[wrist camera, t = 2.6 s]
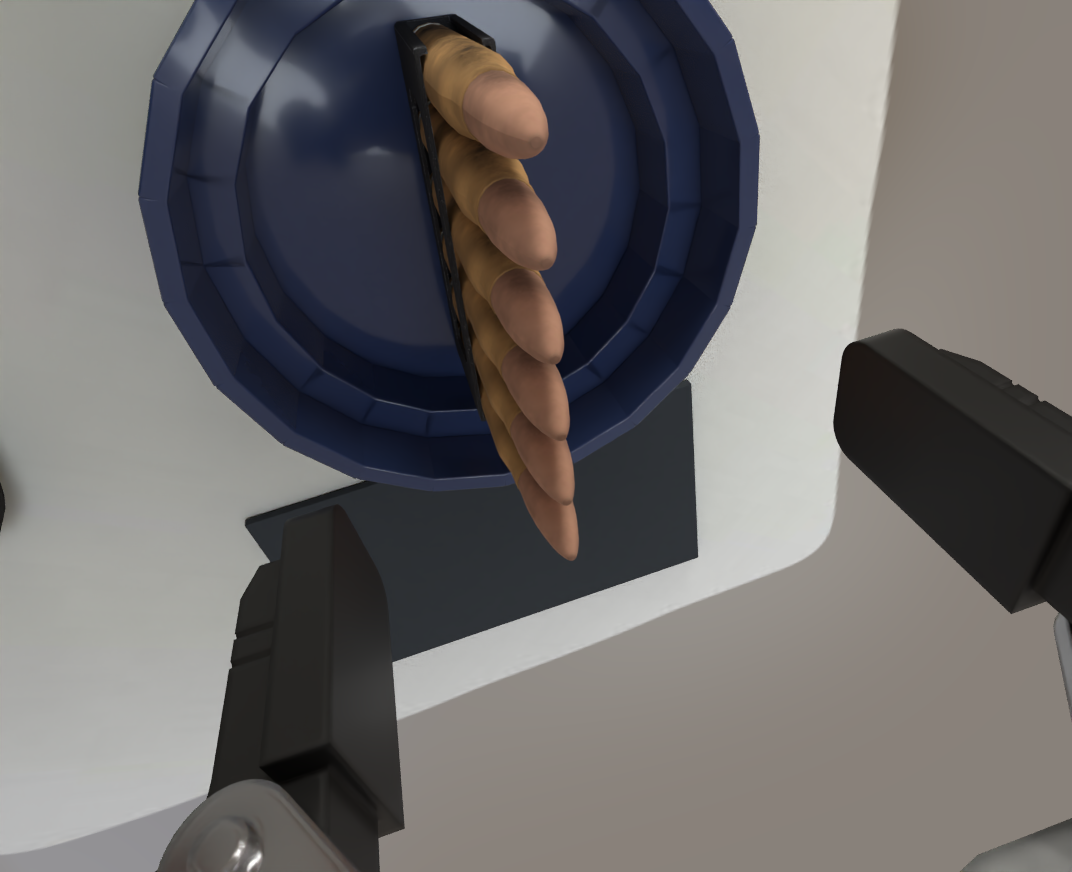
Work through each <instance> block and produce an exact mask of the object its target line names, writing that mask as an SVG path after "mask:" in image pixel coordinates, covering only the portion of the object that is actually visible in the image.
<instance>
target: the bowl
mask: <svg viewBox="0 0 1072 872" xmlns="http://www.w3.org/2000/svg"><path fill="white" fill-rule="evenodd" d="M451 14H456V15H458V16H459V17H461V18H463V19H464V20H466V21H467V22H469V23H470V24H472V25H474V26H475V27H477V28H478V29H480V30H481V31H483V32H485V33H486V34H488V35H489V36H491V37H492V38H494V40H495V44H496V53H498V54H500V55H501V56H502V57H503V58H504V59H505V60H506V61H507V62H508V63H509V64H510V66H511V67H512V68H513V70H514V73H515V75H516V76H517V78H518V79H519V80H521V81H522V82H523V83H525V85H526V86H527V87H528V88H529V89H530V90H531V91H532V92H533V93H534V95H535V96H536V97H537V98H538V100H539V101H540V103H541V105H542V108H543V110H544V113H545V115H546V118H547V123H548V132H549V135H548V140H547V144H546V145H545V147H544V149H543V150H542V151H541V152H540V153H539V154H538V155H536V156H534V157H531V158H528V159H518V160H519V161H520V162H521V164H522V166H523V168H524V170H525V172H526V174H527V176H528V180H529V184H530V185H531V186H532V188H533V190H534V192H535V194H536V195H537V196H538V198H539V199H540V200H541V201H542V203H543V205H544V206H545V208H546V210H547V213H548V215H549V217H550V219H551V221H552V223H553V226H554V229H555V233H556V242H557V256H556V259H555V262H554V264H553V265H552V267H550V268H549V269H547V270H543V271H539V273H540V275H541V277H542V279H543V281H544V283H545V285H546V287H547V289H548V290H549V292H550V294H551V296H552V298H553V300H554V302H555V304H556V307H557V309H558V312H559V314H560V318H561V321H562V326H563V336H564V351H563V355H562V358H561V360H560V362H559V363H557V364H555V365H556V367H557V369H558V371H559V373H560V375H561V378H562V381H563V384H564V387H565V390H566V394H567V398H568V405H569V415H570V427H569V432H568V435H567V438H566V441H567V444H568V447H569V450H570V453H571V458H572V463H577V462H578V461H580V460H582V459H583V458H585V457H587V456H588V455H590V454H591V453H593V452H595V451H596V450H598V449H600V448H601V447H603V446H605V445H606V444H608V443H610V442H611V441H613V440H615V439H616V438H618V437H619V436H621V435H623V434H624V433H626V432H628V431H629V430H631V429H633V428H634V427H635V425H638V424H639V423H640V422H641V421H642V420H643V419H644V418H645V417H646V416H647V415H648V414H649V413H650V412H651V411H652V410H653V409H654V408H655V407H656V406H657V405H658V404H659V403H660V402H661V401H662V400H663V399H664V398H665V397H666V396H668V395H669V394H670V393H671V392H672V391H673V390H674V389H675V388H676V387H677V386H678V385H679V384H680V383H681V382H682V381H683V380H684V379H685V378H686V377H687V376H688V374H689V373H690V372H691V371H692V369H693V368H694V366H695V364H696V363H697V361H698V360H699V358H700V356H701V355H702V353H703V352H704V350H705V348H706V347H707V345H708V343H709V342H710V340H711V339H712V337H713V335H714V334H715V332H716V331H717V329H718V327H719V326H720V324H721V322H722V321H723V319H724V318H725V316H726V314H727V313H728V311H729V309H730V306H731V305H732V302H733V299H734V296H735V293H736V290H737V286H738V283H739V280H740V277H741V274H742V270H743V267H744V264H745V261H746V258H747V254H748V251H749V248H750V245H751V242H752V238H753V235H754V232H755V229H756V225H757V204H758V174H759V145H760V135H759V130H758V127H757V123H756V119H755V116H754V112H753V108H752V105H751V101H750V97H749V93H748V90H747V86H746V82H745V79H744V75H743V71H742V67H741V64H740V60H739V56H738V53H737V49H736V45H735V41H734V39H733V38H732V34H731V33H730V31H729V30H728V28H727V27H726V25H725V24H724V22H723V21H722V19H721V18H720V17H719V15H718V14H717V12H716V11H715V9H714V8H713V6H712V5H711V3H710V2H709V0H195V1H194V2H193V4H192V6H191V8H190V10H189V11H188V13H187V15H186V17H185V19H184V20H183V22H182V24H181V26H180V28H179V29H178V31H177V33H176V35H175V37H174V38H173V40H172V42H171V44H170V46H169V48H168V49H167V51H166V53H165V55H164V57H163V58H162V60H161V62H160V64H159V66H158V67H157V69H156V71H155V73H154V75H153V80H152V83H151V91H150V99H149V108H148V116H147V124H146V132H145V140H144V148H143V156H142V165H141V173H140V181H139V189H138V195H139V199H138V200H139V205H140V209H141V213H142V217H143V222H144V226H145V230H146V234H147V239H148V243H149V247H150V251H151V256H152V260H153V264H154V268H155V273H156V277H157V281H158V285H159V290H160V294H161V298H162V301H163V302H164V306H165V308H166V309H167V311H168V313H169V314H170V316H171V317H172V319H173V321H174V322H175V324H176V325H177V327H178V329H179V330H180V332H181V333H182V335H183V337H184V338H185V340H186V341H187V343H188V345H189V346H190V348H191V349H192V351H193V353H194V354H195V356H196V357H197V359H198V361H199V362H200V364H201V365H202V367H203V369H204V370H205V372H206V373H207V375H208V377H209V378H210V380H211V381H212V383H213V385H214V386H216V387H217V389H218V390H220V391H221V392H222V393H223V394H224V395H225V396H226V397H228V398H229V399H230V400H231V401H232V402H233V403H235V404H236V405H237V406H238V407H239V408H240V409H242V410H243V411H244V412H245V413H246V414H247V415H249V416H250V417H251V418H252V419H253V420H254V421H255V422H257V423H258V424H259V425H260V426H261V427H262V428H264V429H265V430H266V431H267V432H268V433H269V434H271V435H272V436H273V437H274V438H275V439H276V440H277V441H279V442H280V443H281V444H283V445H284V446H286V447H288V448H290V449H292V450H294V451H297V452H299V453H301V454H303V455H305V456H307V457H310V458H312V459H314V460H316V461H318V462H320V463H323V464H325V465H327V466H329V467H331V468H333V469H336V470H338V471H340V472H342V473H344V474H346V475H349V476H351V477H353V478H357V479H360V480H366V481H371V482H377V483H383V484H389V485H395V486H400V487H406V488H412V489H418V490H423V491H429V492H431V491H433V492H438V491H451V490H464V489H478V488H491V487H503V486H508V485H511V484H514V483H515V481H514V478H513V476H512V474H511V471H510V470H509V469H508V467H507V466H506V465H505V463H504V462H503V460H502V459H501V457H500V456H499V453H498V451H497V448H496V445H495V443H494V440H493V437H492V434H491V431H490V428H489V426H488V423H487V421H481V419H480V417H479V414H478V411H477V408H476V405H475V402H474V399H473V396H472V393H471V390H470V387H469V384H468V381H467V378H466V375H465V372H464V369H463V366H462V363H461V360H460V357H459V354H458V351H457V348H456V342H455V337H454V332H453V327H452V322H451V317H450V312H449V307H448V301H447V296H446V291H445V286H444V281H443V276H442V271H441V266H440V260H439V255H438V250H437V245H436V240H435V235H434V230H433V225H432V219H431V214H430V209H429V204H428V199H427V194H426V189H425V184H424V179H423V173H422V168H421V163H420V158H419V153H418V148H417V143H416V138H415V132H414V127H413V122H412V117H411V112H410V107H409V102H408V97H407V91H406V86H405V81H404V76H403V71H402V66H401V61H400V56H399V50H398V45H397V40H396V35H395V30H394V25H395V23H396V22H397V21H405V20H413V19H420V18H428V17H435V16H443V15H451Z"/></svg>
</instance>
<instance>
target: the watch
mask: <svg viewBox="0 0 1072 872" xmlns="http://www.w3.org/2000/svg"><path fill="white" fill-rule="evenodd" d="M4 512H5V497H4V492H3V489H2V486H1V483H0V531H1V526H2V522H3V517H4Z"/></svg>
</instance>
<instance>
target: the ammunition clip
mask: <svg viewBox="0 0 1072 872" xmlns="http://www.w3.org/2000/svg"><path fill="white" fill-rule="evenodd" d="M394 30H395V35H396V40H397V45H398V50H399V56H400V61H401V66H402V71H403V76H404V81H405V86H406V91H407V97H408V102H409V107H410V112H411V117H412V122H413V127H414V132H415V138H416V143H417V148H418V153H419V158H420V163H421V168H422V173H423V179H424V184H425V189H426V194H427V199H428V204H429V209H430V214H431V219H432V225H433V230H434V235H435V240H436V245H437V250H438V255H439V260H440V266H441V271H442V276H443V281H444V286H445V291H446V296H447V301H448V307H449V312H450V317H451V322H452V327H453V332H454V337H455V342H456V348H457V351H458V354H459V357H460V360H461V363H462V366H463V369H464V372H465V375H466V378H467V381H468V384H469V387H470V390H471V393H472V396H473V399H474V402H475V405H476V408H477V411H478V414H479V417H480V419H481V421H487V423H488V426H489V428H490V431H491V434H492V437H493V440H494V443H495V445H496V448H497V451H498V453H499V456H500V457H501V459H502V460H503V462H504V463H505V465H506V466H507V467H508V469H509V470H510V471H511V474H512V476H513V478H514V481H515V483H516V485H517V488H518V489H519V490H520V492H521V495H522V497H523V500H524V502H525V505H526V507H527V509H528V511H529V513H530V515H531V517H532V519H533V520H534V522H535V524H536V526H537V527H538V529H539V530H540V532H541V533H542V534H543V536H544V537H545V539H546V540H547V541H548V542H549V543H550V545H551V546H552V547H553V548H554V549H555V550H556V551H557V552H558V553H559V554H560V555H561V556H563V557H564V558H565V559H567V560H570V561H573V560H575V558H576V557H577V553H578V547H579V535H578V525H577V517H576V512H575V507H574V504H573V497H574V490H575V481H574V471H573V463H572V458H571V453H570V450H569V447H568V444H567V441H566V438H567V435H568V432H569V427H570V415H569V405H568V398H567V394H566V390H565V387H564V384H563V381H562V378H561V375H560V373H559V371H558V369H557V367H556V365H555V364H557V363H559V362H560V360H561V358H562V355H563V351H564V336H563V326H562V321H561V318H560V314H559V312H558V309H557V307H556V304H555V302H554V300H553V298H552V296H551V294H550V292H549V290H548V289H547V287H546V285H545V283H544V281H543V279H542V277H541V275H540V273H539V271H543V270H547V269H549V268H550V267H552V265H553V264H554V262H555V259H556V256H557V242H556V233H555V229H554V226H553V223H552V221H551V219H550V217H549V215H548V213H547V210H546V208H545V206H544V205H543V203H542V201H541V200H540V199H539V198H538V196H537V195H536V194H535V192H534V190H533V188H532V186H531V185H530V184H529V180H528V176H527V174H526V172H525V170H524V168H523V166H522V164H521V162H520V161H519V160H518V159H528V158H531V157H534V156H536V155H538V154H539V153H540V152H541V151H542V150H543V149H544V147H545V145H546V144H547V140H548V135H549V132H548V123H547V118H546V115H545V113H544V110H543V108H542V105H541V103H540V101H539V100H538V98H537V97H536V96H535V95H534V93H533V92H532V91H531V90H530V89H529V88H528V87H527V86H526V85H525V83H523V82H522V81H521V80H519V79H518V78H517V76H516V75H515V73H514V70H513V68H512V67H511V66H510V64H509V63H508V62H507V61H506V60H505V59H504V58H503V57H502V56H501V55H500V54H498V53H496V44H495V40H494V38H492V37H491V36H489V35H488V34H486V33H485V32H483V31H481V30H480V29H478V28H477V27H475V26H474V25H472V24H470V23H469V22H467V21H466V20H464V19H463V18H461V17H459V16H458V15H456V14H451V15H443V16H435V17H428V18H420V19H413V20H405V21H397V22H396V23H395V25H394Z"/></svg>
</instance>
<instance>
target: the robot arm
mask: <svg viewBox="0 0 1072 872" xmlns="http://www.w3.org/2000/svg"><path fill="white" fill-rule="evenodd" d="M833 425H834V432H835V436H836V439H837V442H838V444H839V446H840V448H841V449H842V451H843V453H844V454H845V455H846V456H847V457H848V458H849V460H851V461H852V462H853V463H854V464H855V465H856V466H857V467H858V468H859V469H860V470H861V471H862V472H863V473H864V474H865V475H866V476H867V477H868V478H869V479H871V480H872V481H873V482H874V483H875V484H876V485H877V486H878V487H879V488H880V489H881V490H882V491H883V492H884V493H885V494H886V495H887V496H888V497H889V498H890V499H891V500H892V501H893V502H894V503H896V504H897V505H898V506H899V507H900V508H901V509H902V510H903V511H904V512H905V513H906V514H907V515H908V516H909V517H910V518H911V519H912V520H913V521H914V522H915V523H916V524H918V525H919V526H920V527H921V528H922V529H923V530H924V531H925V532H926V533H927V534H928V535H929V536H930V537H931V538H932V539H933V540H934V541H935V542H936V543H937V544H938V545H939V546H941V547H942V548H943V549H944V550H945V551H946V552H947V553H948V554H949V555H950V556H951V557H952V558H953V559H954V560H955V561H956V562H957V563H958V564H959V565H961V567H963V568H964V569H965V570H966V571H967V572H968V573H969V574H970V575H971V576H972V577H973V578H974V579H975V580H976V581H977V582H978V583H979V584H980V585H981V586H982V587H983V588H984V589H986V590H987V591H988V592H989V593H990V594H991V595H992V596H993V597H994V598H995V599H996V600H997V601H998V602H999V603H1000V604H1001V605H1002V606H1004V608H1005V609H1006V610H1008V611H1009V612H1010V613H1011V614H1012V613H1015V612H1018V611H1021V610H1024V609H1026V608H1029V607H1032V606H1035V605H1038V604H1040V603H1043V602H1046V601H1047V602H1048V603H1049V604H1050V605H1051V606H1052V607H1053V608H1054V609H1056V610H1057V611H1058V612H1059V613H1058V615H1057V616H1056V618H1055V621H1054V635H1055V640H1056V645H1057V650H1058V655H1059V660H1060V665H1061V670H1062V675H1063V680H1064V685H1065V690H1066V695H1067V700H1068V705H1069V710H1070V715H1071V720H1072V417H1071V416H1070V415H1068V414H1066V413H1065V412H1063V411H1061V410H1059V409H1058V408H1057V407H1055V406H1053V405H1052V404H1050V403H1048V402H1047V401H1043V402H1040V401H1039V400H1038V396H1037V395H1035V394H1033V393H1031V392H1030V391H1028V390H1027V389H1025V388H1024V387H1022V386H1020V385H1019V384H1018V385H1015V386H1014V385H1013V384H1012V380H1010V379H1009V378H1007V377H1005V376H1004V375H1002V374H1000V373H999V372H997V371H996V370H994V369H992V368H991V367H989V366H987V365H986V364H984V363H982V362H980V361H978V360H974V359H971V358H968V357H965V356H962V355H959V354H955V353H952V352H949V351H946V350H943V349H940V350H938V349H936V348H935V347H933V346H932V345H930V344H928V343H927V342H925V341H924V340H922V339H920V338H919V337H917V336H916V335H914V334H912V333H911V332H909V331H907V330H904V329H893V330H890V331H887V332H884V333H881V334H878V335H875V336H871V337H868V338H865V339H862V340H859V341H856V342H852V343H850V344H849V345H848V346H847V347H846V348H845V350H844V352H843V355H842V361H841V368H840V375H839V383H838V390H837V398H836V405H835V412H834V421H833ZM235 634H236V637H237V639H236V640H234V643H233V649H232V655H231V664H232V668H231V669H229V674H228V680H227V686H226V693H225V699H224V705H223V711H222V717H221V724H220V730H219V736H218V742H217V749H216V755H215V761H214V767H213V773H212V780H211V784H210V788H209V793H208V796H207V799H206V800H205V801H204V802H202V803H201V804H200V805H199V806H198V807H197V808H196V809H195V810H194V811H193V812H192V813H191V814H190V815H189V816H188V817H187V819H186V820H185V821H184V822H183V823H182V825H181V826H180V827H179V829H178V830H177V831H176V833H175V834H174V836H173V838H172V839H171V841H170V843H169V844H168V846H167V848H166V850H165V852H164V854H163V857H162V859H161V861H160V864H159V867H158V870H157V871H156V872H380V866H379V842H378V838H380V837H382V836H385V835H388V834H391V833H393V832H396V831H399V830H402V829H404V828H405V827H404V814H403V800H402V787H401V773H400V760H399V748H398V733H397V719H396V706H395V693H394V679H393V666H392V652H391V639H390V625H389V612H388V603H387V597H386V593H385V589H384V585H383V582H382V579H381V577H380V574H379V572H378V570H377V568H376V566H375V564H374V562H373V560H372V558H371V557H370V555H369V553H368V551H367V549H366V548H365V546H364V544H363V542H362V540H361V539H360V537H359V535H358V533H357V531H356V530H355V528H354V526H353V524H352V522H351V521H350V519H349V517H348V515H347V514H346V512H345V510H344V509H343V508H342V507H341V506H340V505H339V504H335V505H332V506H329V507H326V508H322V509H319V510H316V511H313V512H310V513H307V514H303V515H300V516H297V517H294V518H291V519H288V520H287V521H286V522H285V524H284V529H283V538H282V547H281V557H280V560H276V561H273V562H270V563H267V564H264V565H261V566H259V568H258V570H257V571H256V573H255V575H254V577H253V578H252V580H251V582H250V584H249V585H248V587H247V589H246V591H245V592H244V594H243V596H242V598H241V599H240V606H239V612H238V618H237V624H236V630H235ZM960 872H1072V818H1071V819H1069V820H1066V821H1063V822H1061V823H1058V824H1056V825H1053V826H1051V827H1048V828H1046V829H1043V830H1040V831H1038V832H1036V833H1033V834H1030V835H1028V836H1025V837H1023V838H1020V839H1017V840H1015V841H1012V842H1010V843H1007V844H1004V845H1002V846H999V847H997V848H994V849H992V850H989V851H987V852H984V853H981V854H979V855H977V856H976V857H975V858H974V859H973V860H972V861H971V862H970V863H969V864H968V865H966V866H965V867H964V868H963V869H962V870H961V871H960Z"/></svg>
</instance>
